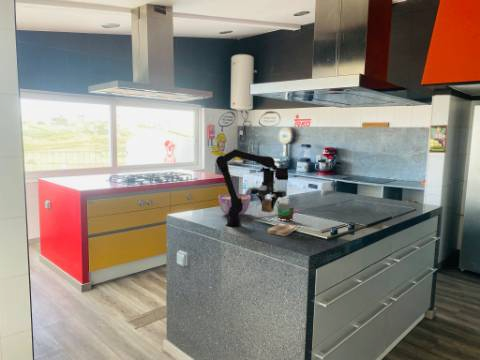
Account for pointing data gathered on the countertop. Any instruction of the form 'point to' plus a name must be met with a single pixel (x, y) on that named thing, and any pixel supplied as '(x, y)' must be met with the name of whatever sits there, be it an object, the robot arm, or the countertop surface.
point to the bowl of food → (226, 202)
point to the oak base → (281, 229)
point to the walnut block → (267, 205)
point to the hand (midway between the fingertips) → (267, 208)
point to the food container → (285, 210)
